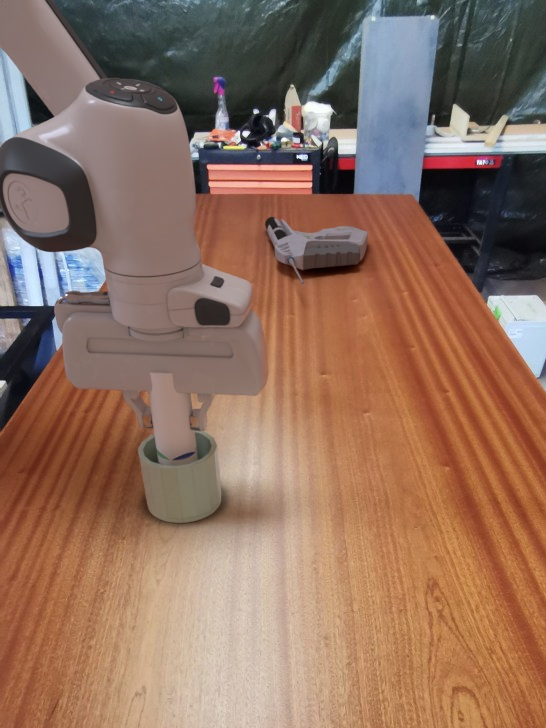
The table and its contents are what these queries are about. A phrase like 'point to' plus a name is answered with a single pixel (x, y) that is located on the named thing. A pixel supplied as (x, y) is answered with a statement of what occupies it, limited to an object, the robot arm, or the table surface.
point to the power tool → (316, 246)
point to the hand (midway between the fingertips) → (174, 427)
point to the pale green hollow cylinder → (182, 482)
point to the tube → (171, 422)
